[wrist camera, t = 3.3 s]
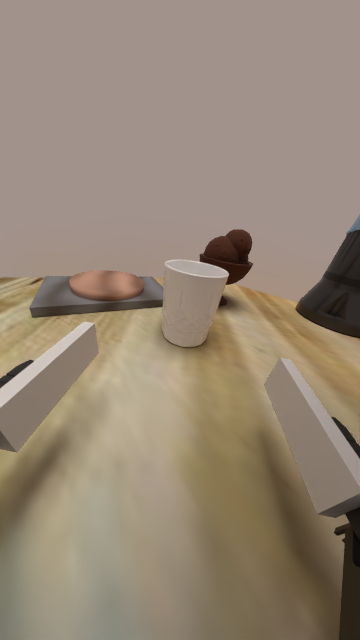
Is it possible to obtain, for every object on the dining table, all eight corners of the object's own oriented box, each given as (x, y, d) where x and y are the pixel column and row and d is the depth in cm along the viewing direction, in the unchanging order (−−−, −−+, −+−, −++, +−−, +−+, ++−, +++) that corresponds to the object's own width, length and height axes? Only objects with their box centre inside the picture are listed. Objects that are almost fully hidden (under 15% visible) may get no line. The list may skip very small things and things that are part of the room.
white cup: (154, 320, 27) (159, 257, 22) (198, 319, 30) (211, 262, 25) (164, 353, 21) (174, 274, 16) (218, 348, 23) (242, 279, 18)
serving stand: (151, 282, 43) (152, 270, 42) (173, 305, 33) (175, 291, 32) (47, 283, 33) (43, 268, 32) (32, 317, 23) (25, 297, 22)
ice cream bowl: (226, 293, 45) (245, 231, 37) (246, 312, 35) (277, 234, 28) (188, 289, 43) (200, 223, 35) (199, 309, 33) (218, 224, 26)
